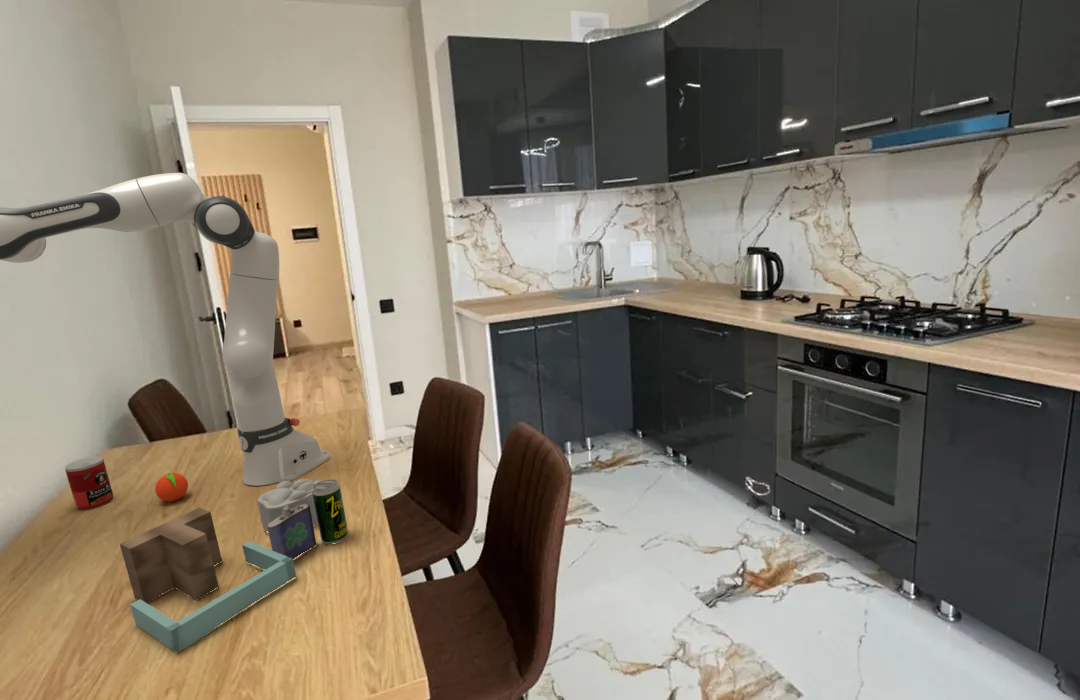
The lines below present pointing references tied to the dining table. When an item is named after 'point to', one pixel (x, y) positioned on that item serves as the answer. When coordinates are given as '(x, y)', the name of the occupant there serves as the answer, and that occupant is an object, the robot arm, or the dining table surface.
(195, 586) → the t block
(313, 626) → the dining table surface
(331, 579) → the dining table surface
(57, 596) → the dining table surface
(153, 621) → the fence
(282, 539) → the flask
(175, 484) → the clementine
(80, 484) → the canned food
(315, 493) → the beer can
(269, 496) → the grey bumpy block
